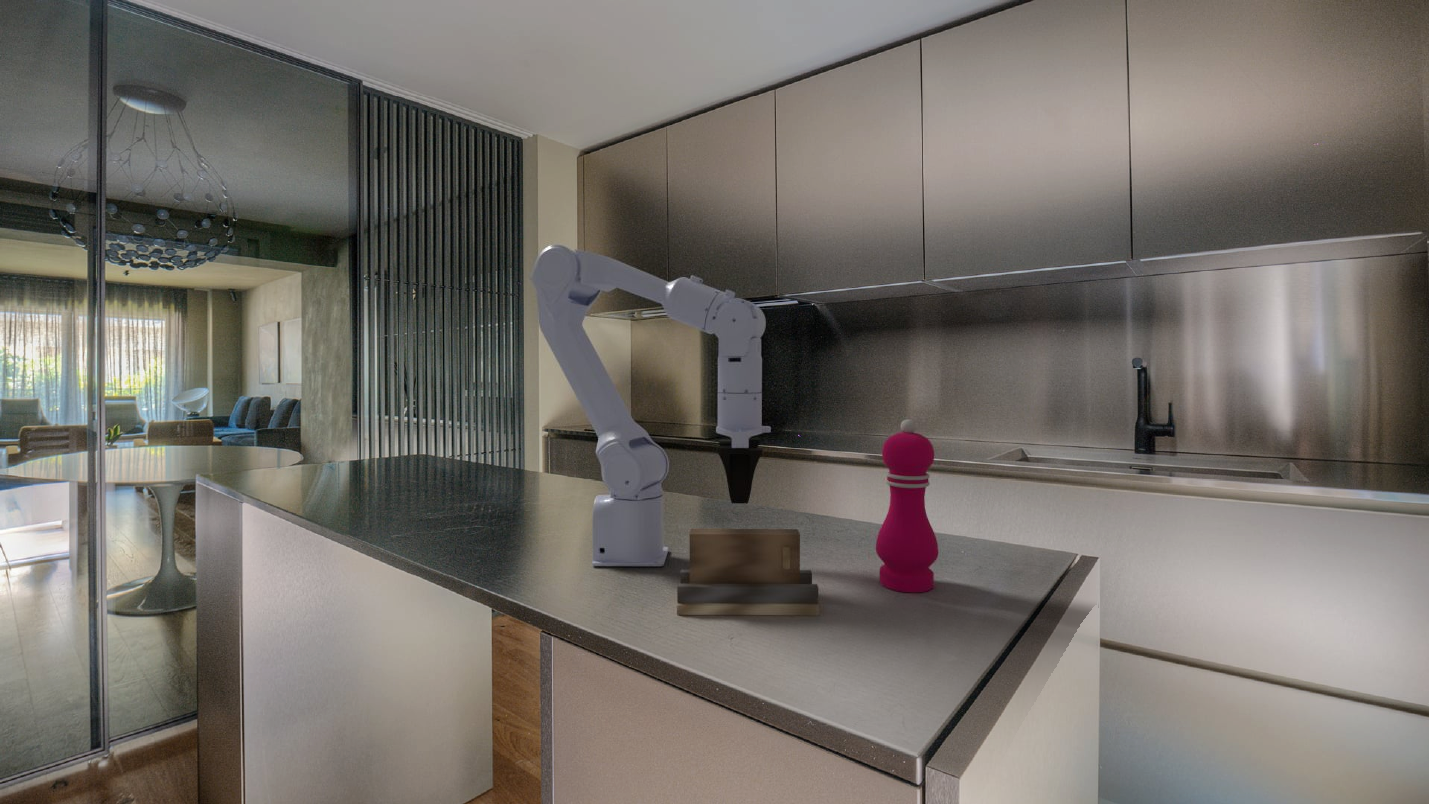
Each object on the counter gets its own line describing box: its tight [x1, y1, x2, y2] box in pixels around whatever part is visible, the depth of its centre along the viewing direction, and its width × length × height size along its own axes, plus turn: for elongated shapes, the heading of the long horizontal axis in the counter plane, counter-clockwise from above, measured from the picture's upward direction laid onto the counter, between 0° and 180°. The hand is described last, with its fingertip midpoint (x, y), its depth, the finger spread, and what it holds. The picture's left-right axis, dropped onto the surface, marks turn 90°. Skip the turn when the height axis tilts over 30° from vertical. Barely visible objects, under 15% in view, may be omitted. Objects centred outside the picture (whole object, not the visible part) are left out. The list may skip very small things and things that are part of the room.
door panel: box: [689, 528, 801, 584], centre depth 70 cm, size 12×3×7 cm, turn 89°
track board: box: [676, 569, 820, 616], centre depth 70 cm, size 15×7×3 cm, turn 89°
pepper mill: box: [875, 418, 939, 594], centre depth 76 cm, size 7×7×20 cm
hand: (739, 496), depth 82 cm, fingers open, 7 cm apart
